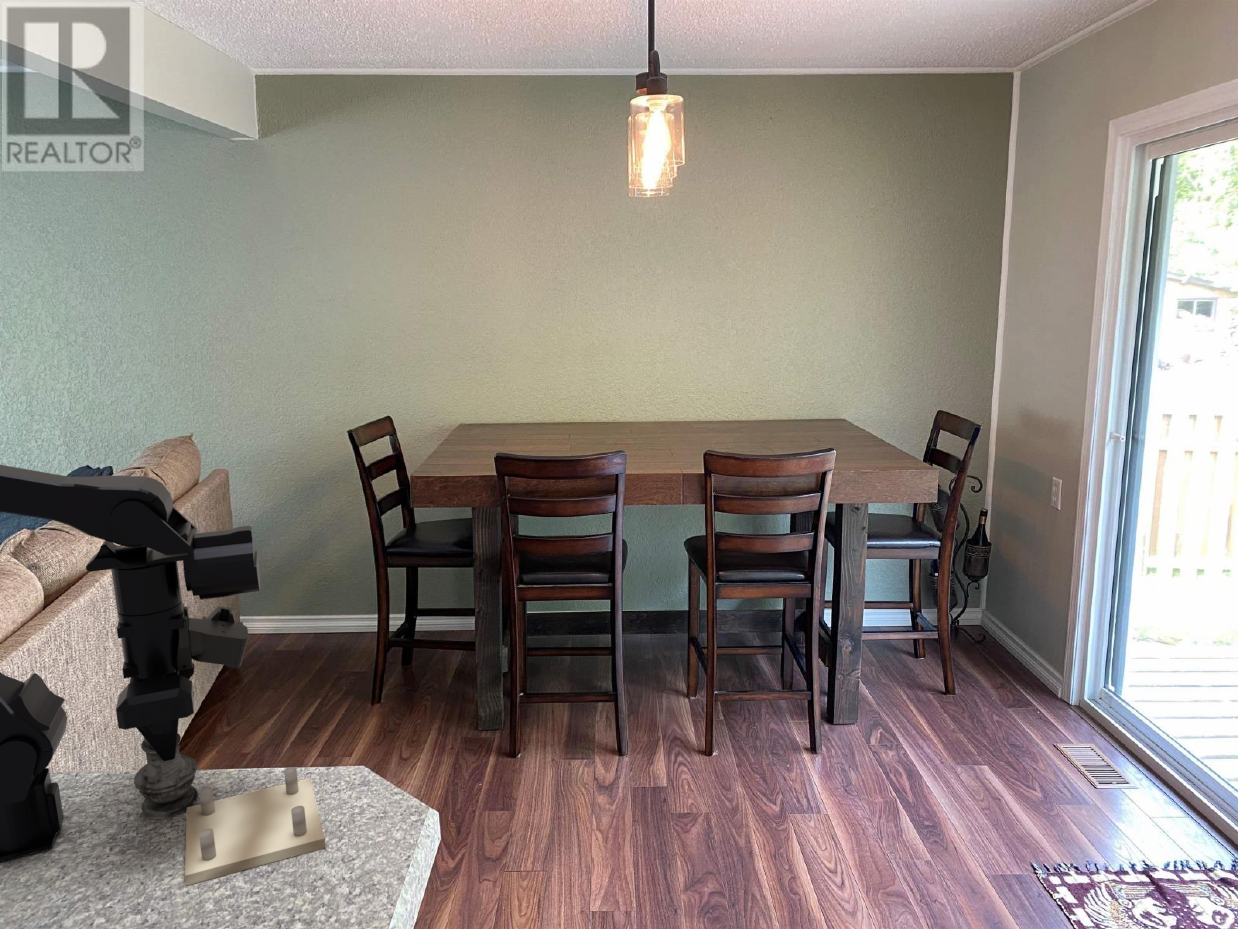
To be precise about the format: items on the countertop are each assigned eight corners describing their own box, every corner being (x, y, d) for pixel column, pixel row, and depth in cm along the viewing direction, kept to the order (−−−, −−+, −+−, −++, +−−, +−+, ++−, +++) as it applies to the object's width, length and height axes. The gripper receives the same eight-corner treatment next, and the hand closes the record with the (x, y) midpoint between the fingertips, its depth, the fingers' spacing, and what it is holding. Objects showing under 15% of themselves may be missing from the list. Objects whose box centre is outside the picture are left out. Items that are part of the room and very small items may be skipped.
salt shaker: (175, 826, 88) (159, 725, 85) (125, 815, 90) (107, 715, 86) (213, 788, 94) (200, 691, 90) (165, 778, 95) (150, 682, 91)
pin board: (186, 885, 79) (181, 850, 78) (187, 816, 90) (183, 785, 89) (325, 847, 84) (322, 814, 83) (311, 786, 95) (308, 756, 94)
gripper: (242, 621, 82) (260, 774, 85) (235, 567, 98) (250, 697, 101) (105, 644, 77) (129, 805, 80) (122, 583, 94) (141, 719, 97)
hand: (169, 750), depth 90 cm, fingers closed on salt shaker, 4 cm apart
